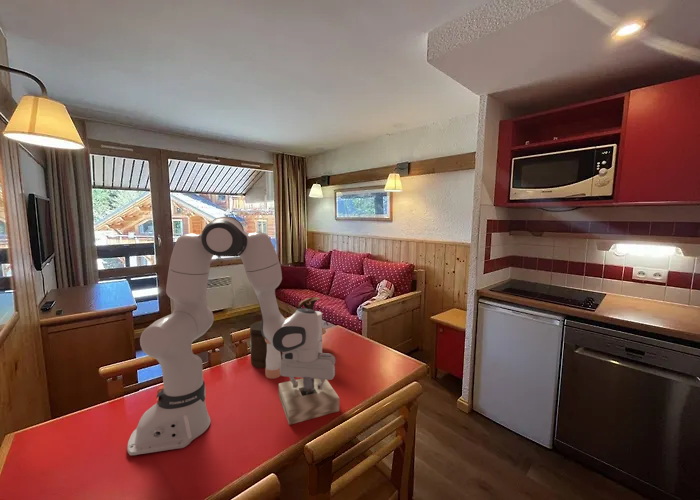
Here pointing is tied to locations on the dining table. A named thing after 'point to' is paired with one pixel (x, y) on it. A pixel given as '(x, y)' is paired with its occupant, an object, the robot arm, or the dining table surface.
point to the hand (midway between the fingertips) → (307, 387)
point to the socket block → (307, 401)
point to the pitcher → (310, 306)
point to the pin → (308, 385)
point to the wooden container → (258, 346)
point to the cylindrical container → (320, 330)
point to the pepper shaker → (272, 361)
